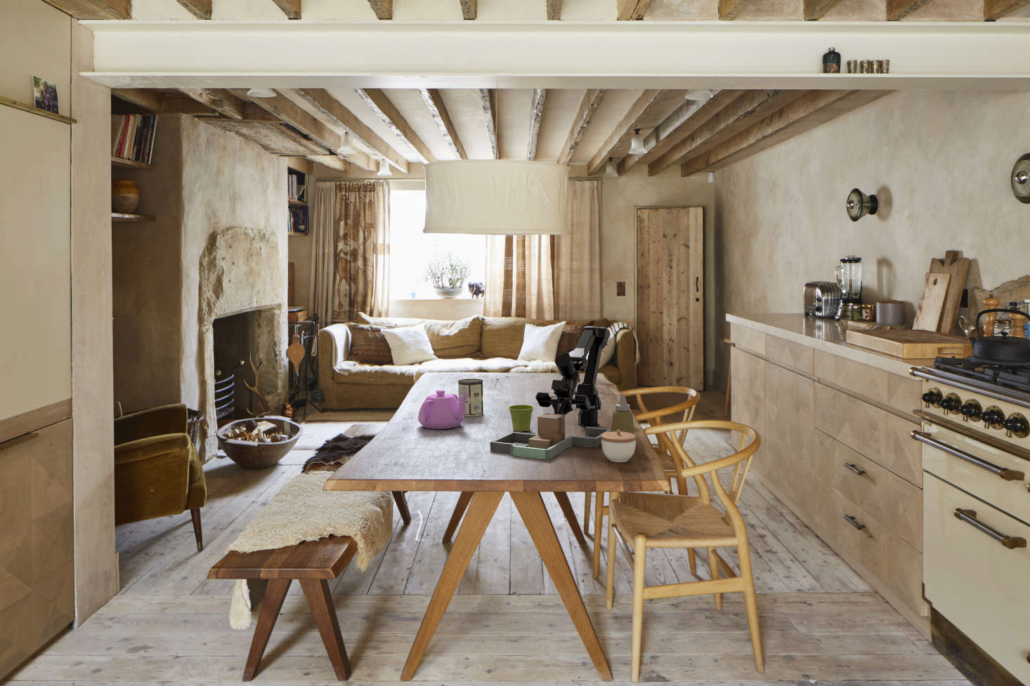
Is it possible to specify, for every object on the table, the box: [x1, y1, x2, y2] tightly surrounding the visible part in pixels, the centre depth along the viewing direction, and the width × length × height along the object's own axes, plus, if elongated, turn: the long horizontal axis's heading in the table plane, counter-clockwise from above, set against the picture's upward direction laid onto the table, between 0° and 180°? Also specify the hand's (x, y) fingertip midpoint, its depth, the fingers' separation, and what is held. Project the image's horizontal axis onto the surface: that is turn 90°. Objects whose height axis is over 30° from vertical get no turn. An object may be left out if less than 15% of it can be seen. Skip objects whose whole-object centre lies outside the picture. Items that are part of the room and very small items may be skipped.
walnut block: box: [528, 412, 566, 449], centre depth 232 cm, size 14×7×10 cm, turn 153°
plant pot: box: [508, 404, 535, 433], centre depth 258 cm, size 9×9×9 cm
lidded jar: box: [601, 430, 637, 463], centre depth 216 cm, size 11×11×9 cm
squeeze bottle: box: [610, 393, 635, 434], centre depth 230 cm, size 8×8×18 cm
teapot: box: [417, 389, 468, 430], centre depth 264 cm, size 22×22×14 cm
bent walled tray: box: [489, 426, 611, 461], centre depth 236 cm, size 36×30×3 cm
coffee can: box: [457, 378, 484, 417], centre depth 287 cm, size 10×10×14 cm
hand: (555, 421), depth 238 cm, fingers closed
